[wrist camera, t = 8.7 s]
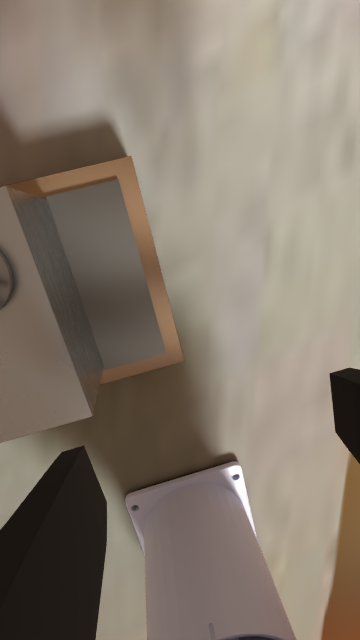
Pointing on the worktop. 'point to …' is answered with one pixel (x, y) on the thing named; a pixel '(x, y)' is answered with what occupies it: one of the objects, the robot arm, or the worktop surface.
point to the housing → (41, 325)
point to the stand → (113, 264)
